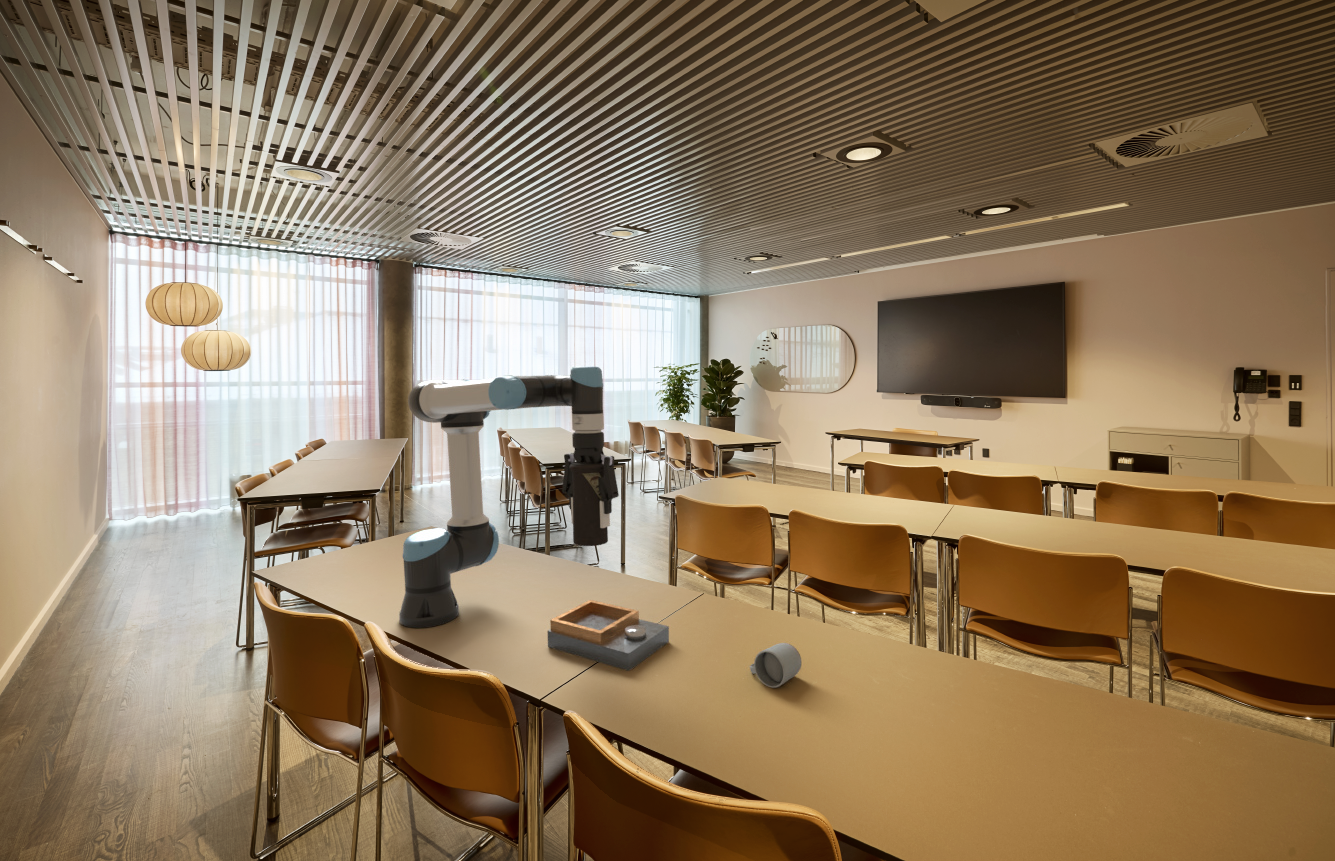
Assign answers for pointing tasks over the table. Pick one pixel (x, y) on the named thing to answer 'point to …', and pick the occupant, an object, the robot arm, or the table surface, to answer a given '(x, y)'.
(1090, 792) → the table surface
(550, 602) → the table surface
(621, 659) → the framed panel with knob
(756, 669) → the ceramic mug
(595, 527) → the container
